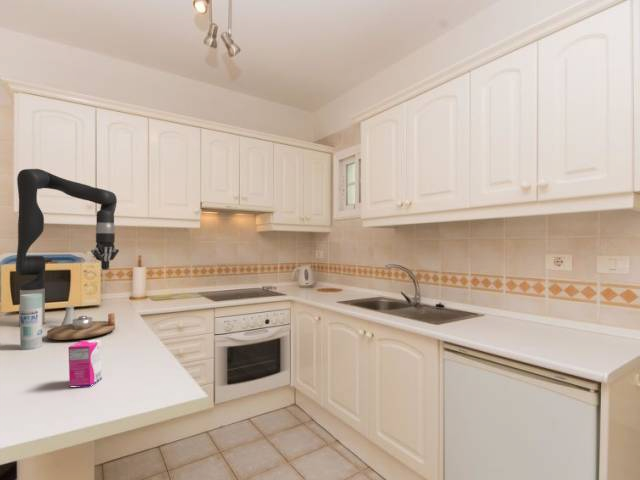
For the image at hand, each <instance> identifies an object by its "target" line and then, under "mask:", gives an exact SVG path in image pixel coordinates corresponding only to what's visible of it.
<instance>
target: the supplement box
mask: <svg viewBox="0 0 640 480" xmlns="http://www.w3.org/2000/svg"><path fill="white" fill-rule="evenodd" d="M101 343H102V341H101V339H94V340H93V339H91V340H90V339H89V340H80V341H78V342H76V343H74V344H72V345H70V346H68V369H69V370H68V373H69V374H68V375H69V379H68V380H69V387H70V386H91V385H92V384H94V383H95V382H96V381H98V380H99V379H101V378H102V379H103V374H102V345H101ZM102 379H101V380H102ZM98 382H99V381H98ZM95 384H96V383H95ZM95 384H94V385H95ZM91 387H92V386H91Z"/></svg>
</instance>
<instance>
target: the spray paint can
mask: <svg viewBox="0 0 640 480" xmlns="http://www.w3.org/2000/svg"><path fill="white" fill-rule="evenodd" d="M19 306H20V325H19V327H20V329H19V330H20V331H19V332H20V334H19V336H20V347H19V348H20V350H22V351H30V350H36V349H39V348H41V347H42V345H43V324H42V294H40V293H36V294H25V295H21V296H20V295H19Z"/></svg>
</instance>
